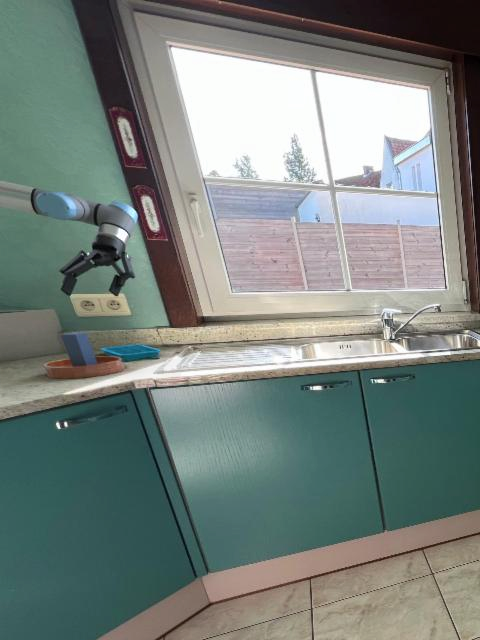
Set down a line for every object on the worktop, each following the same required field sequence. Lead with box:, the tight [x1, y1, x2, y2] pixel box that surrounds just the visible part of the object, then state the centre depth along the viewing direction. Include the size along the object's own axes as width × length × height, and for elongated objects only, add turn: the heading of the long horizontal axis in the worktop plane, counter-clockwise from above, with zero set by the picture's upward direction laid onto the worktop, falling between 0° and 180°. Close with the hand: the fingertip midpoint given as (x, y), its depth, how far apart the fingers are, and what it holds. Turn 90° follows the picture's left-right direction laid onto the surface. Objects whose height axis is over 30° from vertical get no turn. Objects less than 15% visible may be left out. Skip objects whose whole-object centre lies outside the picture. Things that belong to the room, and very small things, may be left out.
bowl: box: [42, 355, 126, 380], centre depth 153 cm, size 17×17×4 cm
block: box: [60, 332, 97, 367], centre depth 152 cm, size 4×4×12 cm
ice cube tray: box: [99, 344, 162, 362], centre depth 177 cm, size 12×20×3 cm, turn 59°
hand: (89, 293), depth 155 cm, fingers open, 13 cm apart
